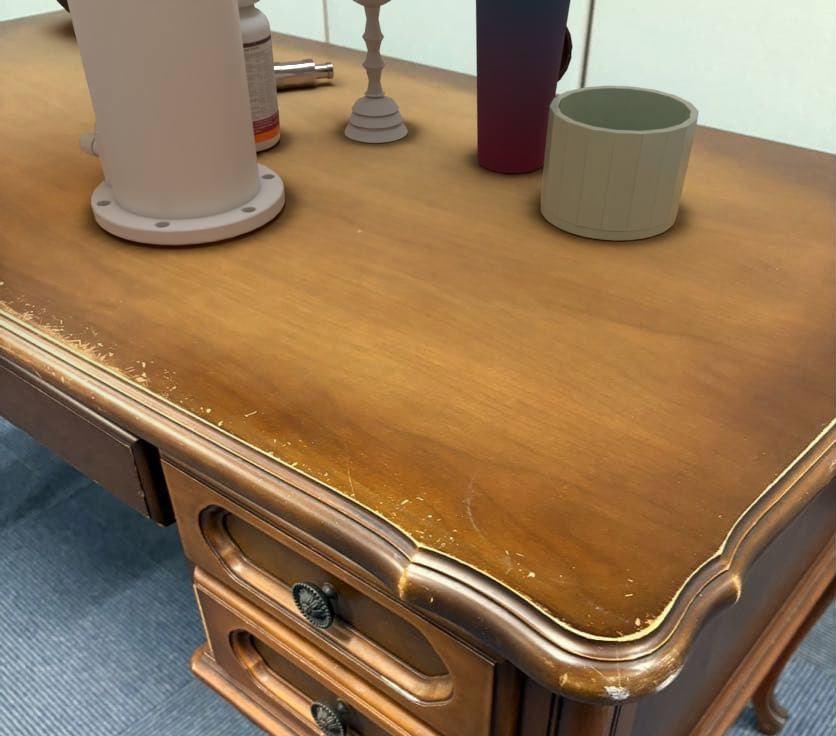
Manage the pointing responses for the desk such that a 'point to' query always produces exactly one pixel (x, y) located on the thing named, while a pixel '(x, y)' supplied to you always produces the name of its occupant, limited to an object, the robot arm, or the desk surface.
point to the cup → (516, 79)
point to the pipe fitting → (301, 73)
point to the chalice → (374, 90)
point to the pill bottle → (260, 74)
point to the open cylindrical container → (616, 161)
